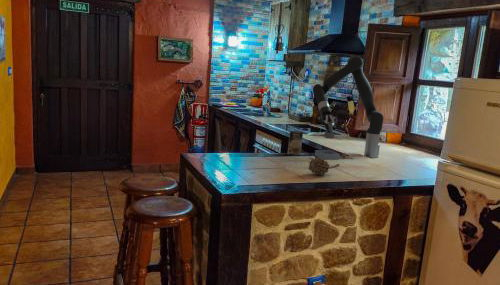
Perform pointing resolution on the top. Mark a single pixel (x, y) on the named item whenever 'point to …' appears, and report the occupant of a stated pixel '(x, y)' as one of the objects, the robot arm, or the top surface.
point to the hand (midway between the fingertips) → (331, 129)
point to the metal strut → (329, 131)
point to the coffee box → (295, 142)
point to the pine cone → (320, 166)
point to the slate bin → (327, 155)
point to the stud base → (345, 156)
